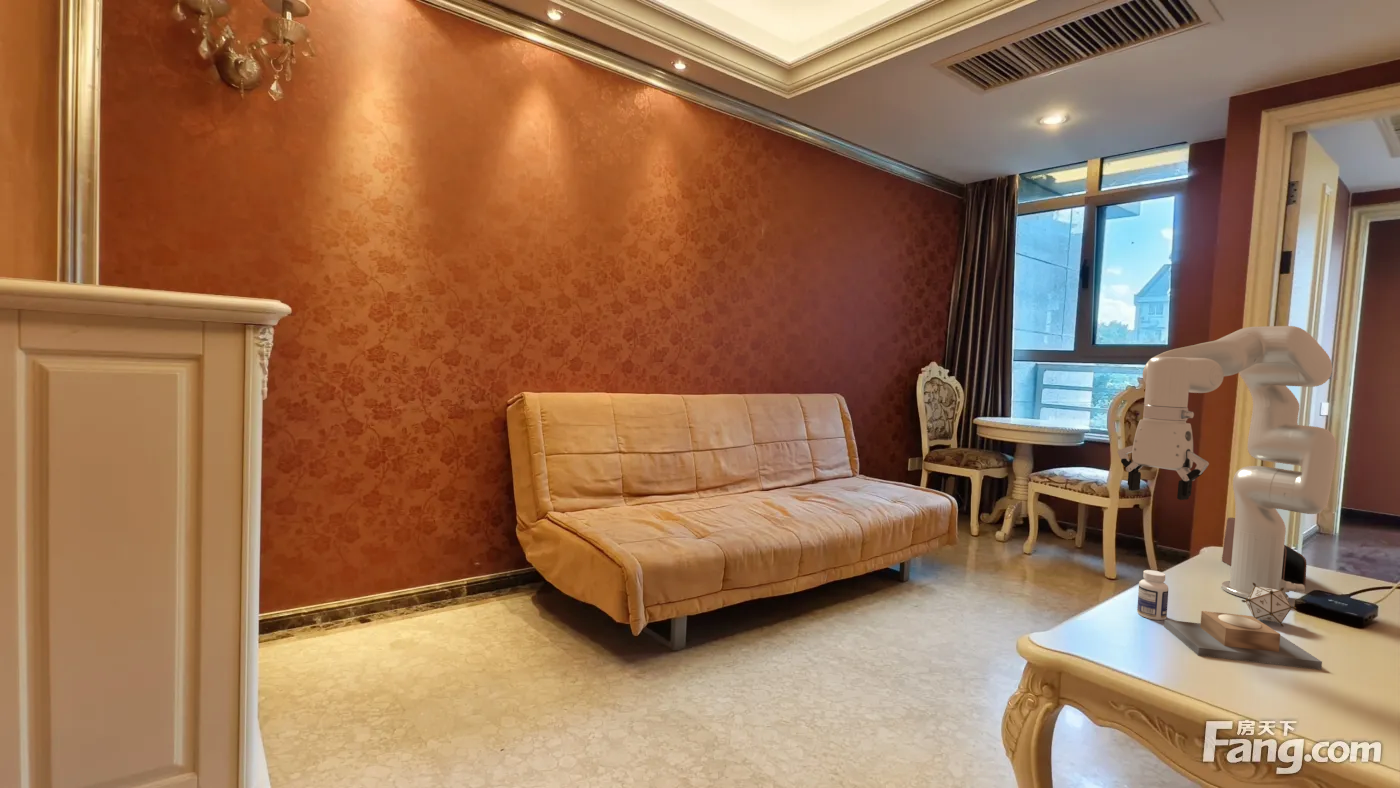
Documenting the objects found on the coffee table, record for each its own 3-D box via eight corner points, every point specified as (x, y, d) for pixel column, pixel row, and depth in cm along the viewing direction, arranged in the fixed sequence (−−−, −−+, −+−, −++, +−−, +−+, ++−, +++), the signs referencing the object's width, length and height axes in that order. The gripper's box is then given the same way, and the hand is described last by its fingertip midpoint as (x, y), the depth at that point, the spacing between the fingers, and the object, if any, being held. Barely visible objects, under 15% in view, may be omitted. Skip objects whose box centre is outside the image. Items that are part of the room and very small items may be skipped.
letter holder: (1259, 584, 170) (1264, 530, 170) (1221, 561, 189) (1225, 513, 189) (1306, 589, 168) (1310, 534, 167) (1262, 565, 187) (1266, 516, 186)
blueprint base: (1273, 638, 135) (1275, 613, 135) (1321, 669, 122) (1323, 642, 121) (1164, 626, 140) (1165, 602, 139) (1198, 655, 126) (1200, 628, 126)
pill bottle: (1157, 612, 148) (1160, 569, 147) (1171, 621, 142) (1175, 577, 142) (1131, 610, 148) (1134, 568, 148) (1145, 619, 143) (1148, 575, 142)
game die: (1271, 642, 142) (1280, 615, 137) (1229, 615, 149) (1236, 588, 144) (1299, 620, 144) (1309, 592, 138) (1256, 594, 151) (1264, 566, 145)
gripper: (1221, 419, 134) (1213, 502, 135) (1131, 411, 149) (1125, 486, 150) (1201, 419, 130) (1194, 504, 131) (1112, 411, 145) (1106, 487, 146)
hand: (1157, 494), depth 141 cm, fingers open, 9 cm apart
